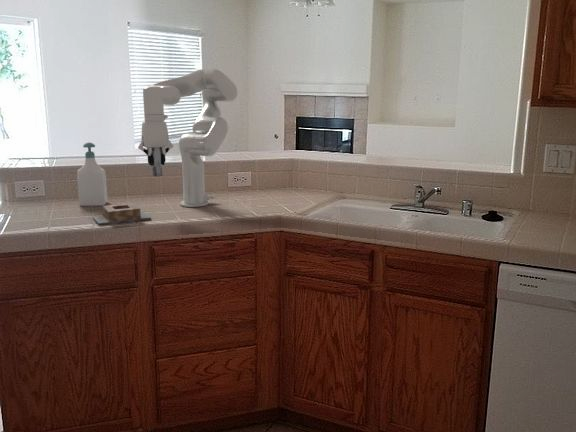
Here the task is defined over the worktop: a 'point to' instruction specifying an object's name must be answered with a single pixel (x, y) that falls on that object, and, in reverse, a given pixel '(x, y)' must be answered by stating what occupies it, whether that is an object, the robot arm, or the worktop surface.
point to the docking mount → (120, 214)
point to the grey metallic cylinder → (157, 162)
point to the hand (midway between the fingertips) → (156, 164)
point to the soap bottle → (91, 181)
